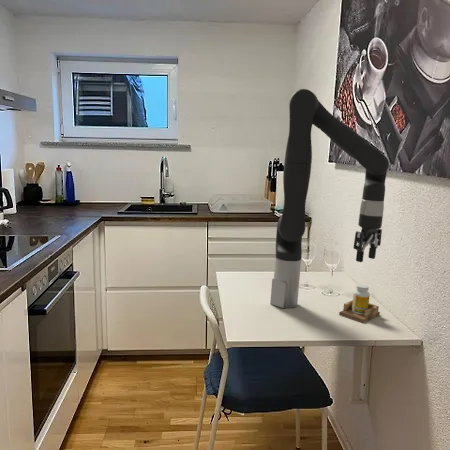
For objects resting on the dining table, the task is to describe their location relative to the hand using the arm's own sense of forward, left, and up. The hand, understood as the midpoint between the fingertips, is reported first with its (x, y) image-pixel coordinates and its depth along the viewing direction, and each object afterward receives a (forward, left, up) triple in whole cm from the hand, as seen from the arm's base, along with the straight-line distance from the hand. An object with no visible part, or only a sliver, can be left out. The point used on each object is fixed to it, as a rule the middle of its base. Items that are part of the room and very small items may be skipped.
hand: (365, 259), depth 161 cm
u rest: (0, 0, -20) cm, 20 cm away
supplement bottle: (0, 0, -19) cm, 19 cm away
